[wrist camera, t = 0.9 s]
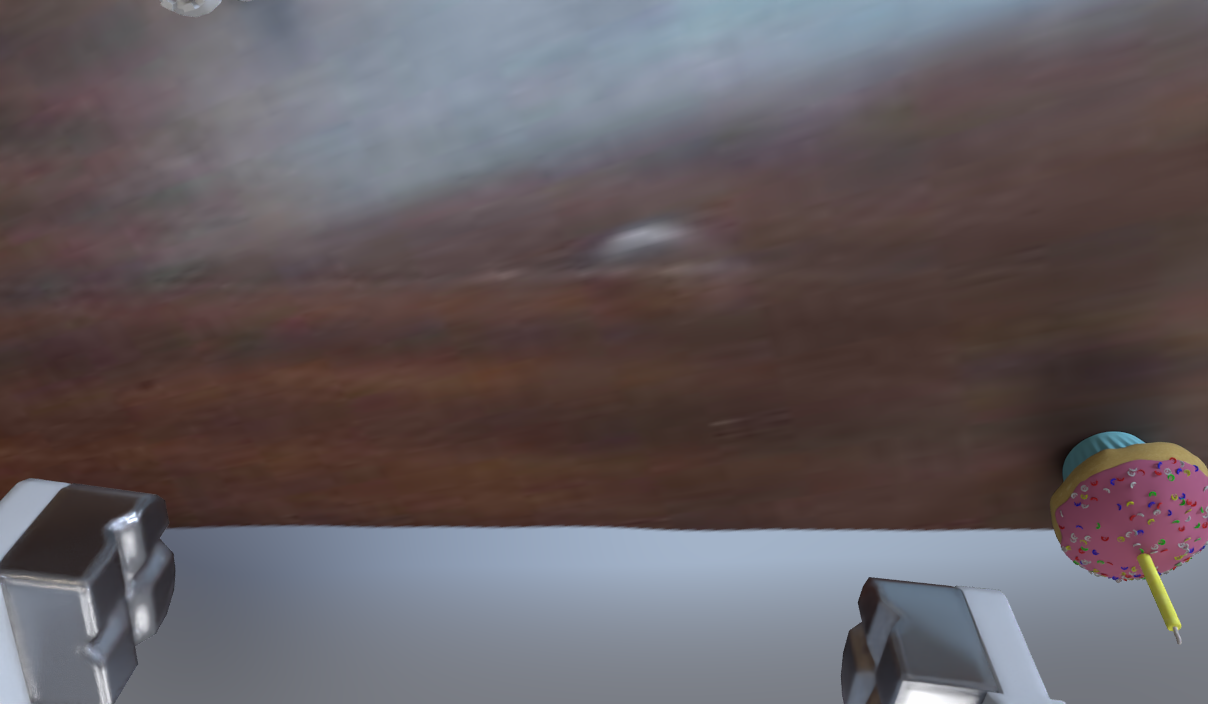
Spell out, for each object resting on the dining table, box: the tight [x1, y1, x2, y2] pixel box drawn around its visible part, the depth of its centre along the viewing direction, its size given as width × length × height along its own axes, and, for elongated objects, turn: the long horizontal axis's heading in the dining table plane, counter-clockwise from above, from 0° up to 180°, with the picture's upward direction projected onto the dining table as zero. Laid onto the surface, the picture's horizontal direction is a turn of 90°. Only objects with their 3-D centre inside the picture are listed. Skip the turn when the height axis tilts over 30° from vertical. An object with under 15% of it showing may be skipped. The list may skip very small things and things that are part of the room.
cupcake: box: [1050, 432, 1208, 644], centre depth 54 cm, size 9×8×12 cm
